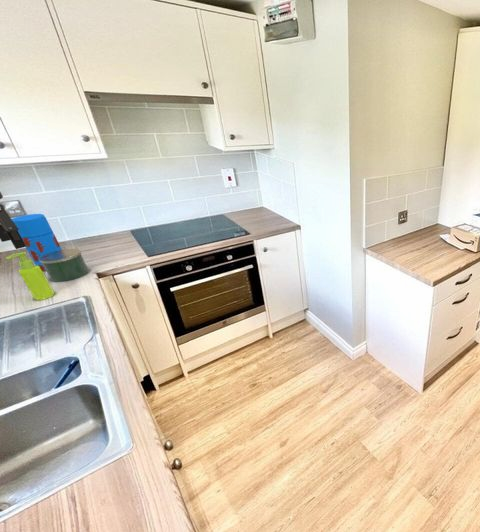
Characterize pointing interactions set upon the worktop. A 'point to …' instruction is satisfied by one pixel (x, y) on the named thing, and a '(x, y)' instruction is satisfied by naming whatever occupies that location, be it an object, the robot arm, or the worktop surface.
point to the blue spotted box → (37, 236)
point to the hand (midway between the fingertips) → (14, 244)
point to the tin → (64, 265)
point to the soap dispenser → (33, 277)
